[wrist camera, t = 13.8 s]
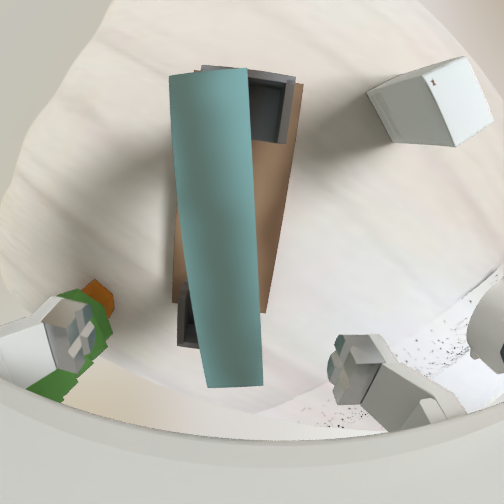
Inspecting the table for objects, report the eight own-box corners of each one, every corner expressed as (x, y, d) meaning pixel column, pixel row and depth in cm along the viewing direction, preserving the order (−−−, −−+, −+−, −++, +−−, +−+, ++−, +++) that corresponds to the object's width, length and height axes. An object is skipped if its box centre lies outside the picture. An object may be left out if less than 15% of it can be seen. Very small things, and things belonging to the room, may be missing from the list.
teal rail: (245, 89, 19) (247, 68, 13) (258, 337, 25) (263, 385, 20) (188, 94, 18) (168, 75, 13) (213, 339, 25) (207, 387, 20)
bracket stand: (300, 86, 30) (334, 56, 18) (264, 307, 39) (274, 374, 27) (196, 73, 29) (171, 35, 17) (174, 296, 38) (150, 360, 26)
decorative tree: (135, 297, 38) (35, 495, 10) (113, 340, 41) (35, 510, 13) (78, 259, 36) (-68, 413, 8) (62, 306, 39) (-46, 451, 10)
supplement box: (392, 144, 32) (454, 150, 21) (364, 91, 30) (420, 73, 18) (430, 122, 31) (496, 122, 19) (405, 72, 29) (466, 53, 17)
